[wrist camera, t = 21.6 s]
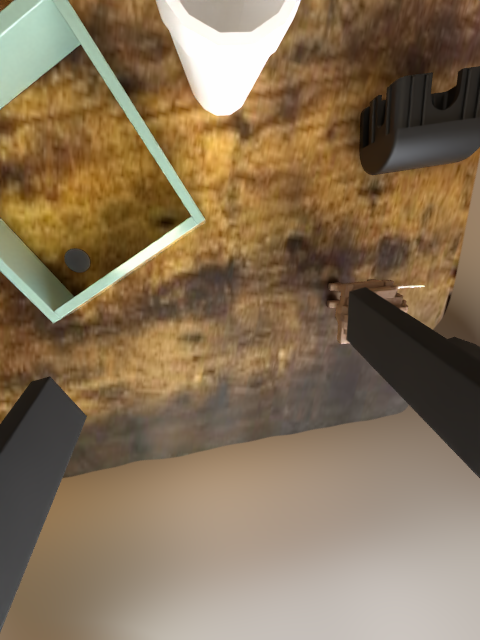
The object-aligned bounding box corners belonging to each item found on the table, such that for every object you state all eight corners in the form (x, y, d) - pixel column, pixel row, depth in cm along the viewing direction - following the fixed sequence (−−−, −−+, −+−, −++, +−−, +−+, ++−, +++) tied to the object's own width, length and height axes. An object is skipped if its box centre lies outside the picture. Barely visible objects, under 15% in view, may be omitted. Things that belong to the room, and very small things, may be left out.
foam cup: (162, 106, 25) (115, -14, 13) (188, -7, 22) (161, -290, 10) (246, 148, 27) (275, 78, 15) (279, 49, 25) (346, -132, 12)
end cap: (355, 181, 30) (394, 167, 23) (356, 110, 27) (400, 72, 21) (431, 170, 30) (490, 152, 24) (439, 99, 28) (507, 59, 21)
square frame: (77, 310, 31) (53, 323, 26) (-74, 152, 24) (-142, 132, 20) (206, 221, 29) (205, 219, 25) (82, 24, 22) (48, -31, 18)
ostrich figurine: (307, 318, 35) (395, 396, 18) (309, 272, 33) (412, 312, 16) (415, 308, 36) (591, 372, 20) (424, 263, 34) (632, 291, 17)
